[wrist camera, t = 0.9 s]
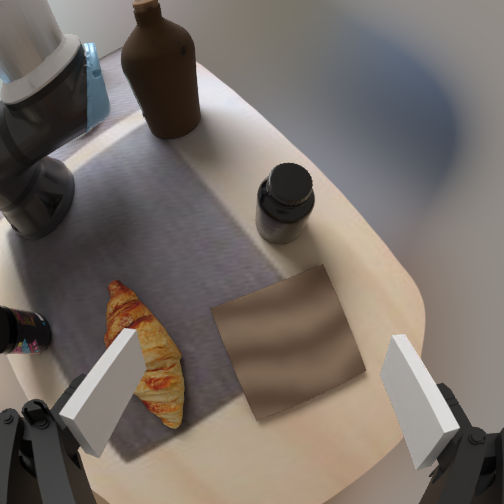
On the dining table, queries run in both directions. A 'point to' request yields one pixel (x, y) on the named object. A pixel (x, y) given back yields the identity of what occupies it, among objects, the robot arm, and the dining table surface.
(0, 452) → the robot arm
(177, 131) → the olive oil
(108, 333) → the croissant
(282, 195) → the supplement bottle
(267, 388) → the brown cloth napkin
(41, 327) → the supplement container
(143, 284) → the dining table surface
